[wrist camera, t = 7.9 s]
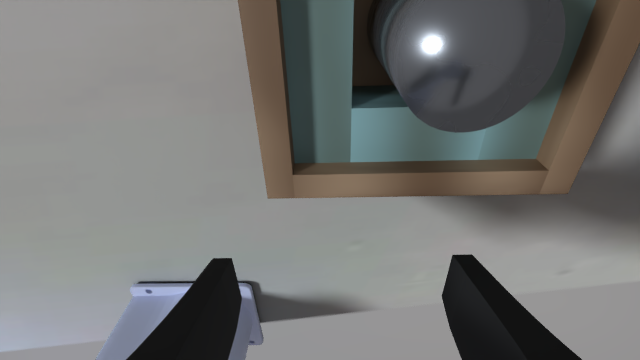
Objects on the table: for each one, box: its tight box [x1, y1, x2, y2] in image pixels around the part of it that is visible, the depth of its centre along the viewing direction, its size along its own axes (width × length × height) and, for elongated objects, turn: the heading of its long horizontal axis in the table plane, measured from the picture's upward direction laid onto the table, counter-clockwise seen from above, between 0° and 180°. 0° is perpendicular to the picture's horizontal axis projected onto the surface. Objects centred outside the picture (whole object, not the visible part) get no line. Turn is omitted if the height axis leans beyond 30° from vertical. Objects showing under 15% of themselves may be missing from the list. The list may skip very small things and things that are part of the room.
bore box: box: [238, 0, 640, 198], centre depth 13 cm, size 13×13×5 cm
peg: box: [367, 0, 565, 133], centre depth 11 cm, size 4×4×7 cm
